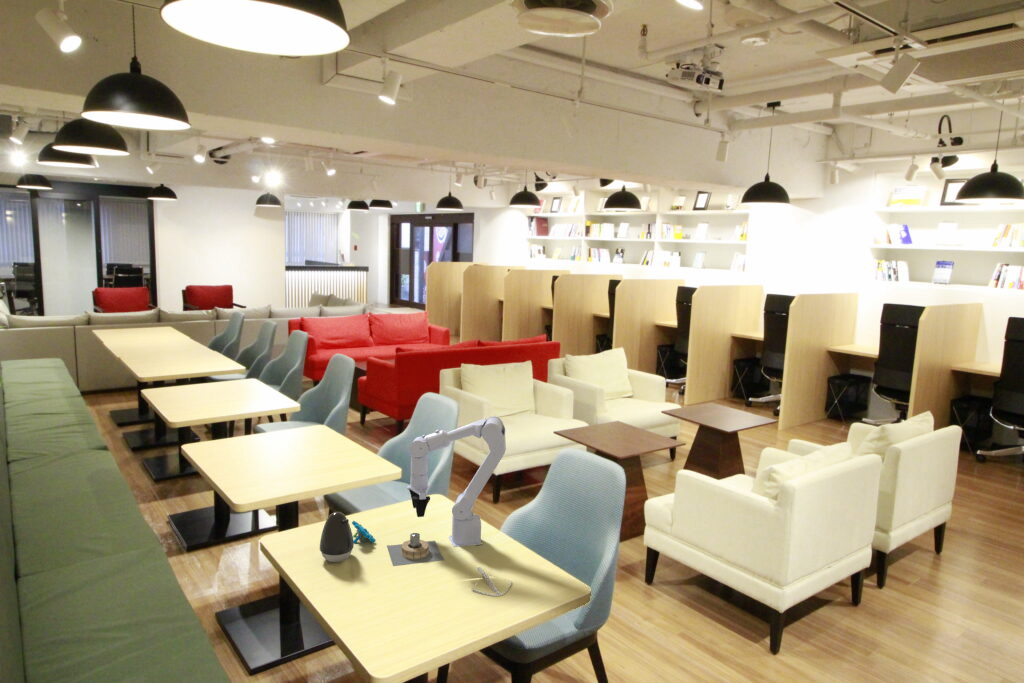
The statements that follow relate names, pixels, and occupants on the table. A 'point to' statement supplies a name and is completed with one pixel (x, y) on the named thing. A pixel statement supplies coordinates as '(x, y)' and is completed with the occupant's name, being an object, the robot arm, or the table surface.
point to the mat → (400, 560)
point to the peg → (415, 540)
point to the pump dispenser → (336, 538)
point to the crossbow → (490, 584)
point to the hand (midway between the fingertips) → (418, 512)
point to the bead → (414, 550)
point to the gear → (361, 532)
